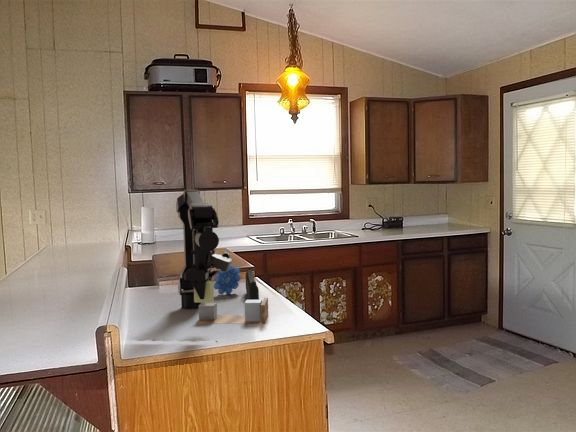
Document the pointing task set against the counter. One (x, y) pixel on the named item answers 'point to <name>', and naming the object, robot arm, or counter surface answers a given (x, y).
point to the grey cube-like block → (207, 311)
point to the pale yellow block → (206, 293)
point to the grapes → (227, 280)
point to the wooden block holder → (240, 317)
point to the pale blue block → (253, 310)
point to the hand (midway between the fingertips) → (204, 297)
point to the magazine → (251, 286)
